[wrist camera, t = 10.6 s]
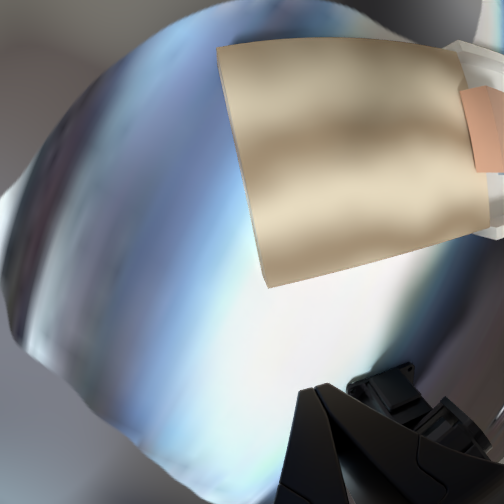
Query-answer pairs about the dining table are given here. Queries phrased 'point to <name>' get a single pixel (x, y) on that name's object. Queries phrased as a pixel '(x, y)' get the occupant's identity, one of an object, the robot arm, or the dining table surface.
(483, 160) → the terracotta tile
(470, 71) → the box
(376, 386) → the robot arm
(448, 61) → the birch plate
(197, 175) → the dining table surface
